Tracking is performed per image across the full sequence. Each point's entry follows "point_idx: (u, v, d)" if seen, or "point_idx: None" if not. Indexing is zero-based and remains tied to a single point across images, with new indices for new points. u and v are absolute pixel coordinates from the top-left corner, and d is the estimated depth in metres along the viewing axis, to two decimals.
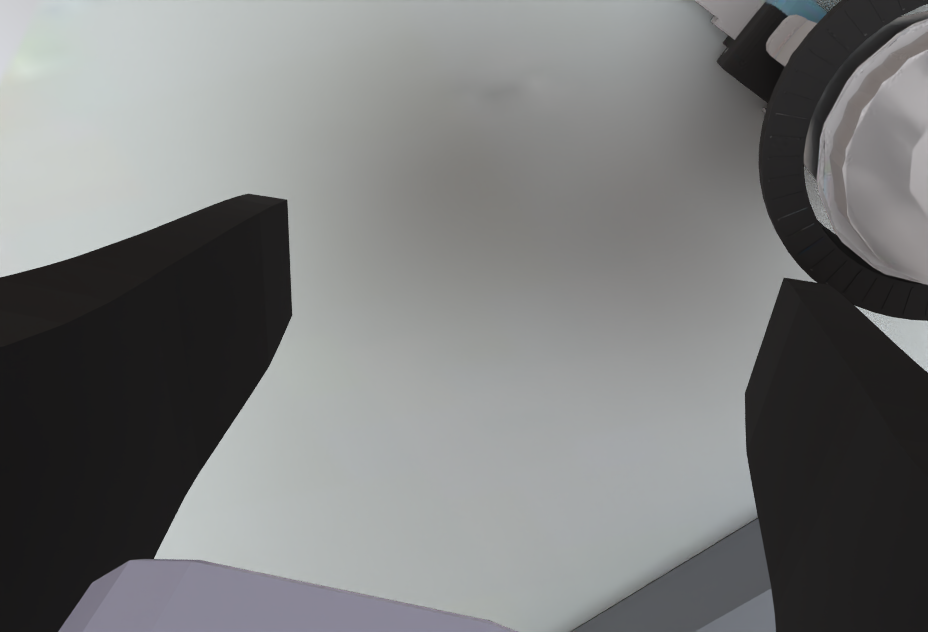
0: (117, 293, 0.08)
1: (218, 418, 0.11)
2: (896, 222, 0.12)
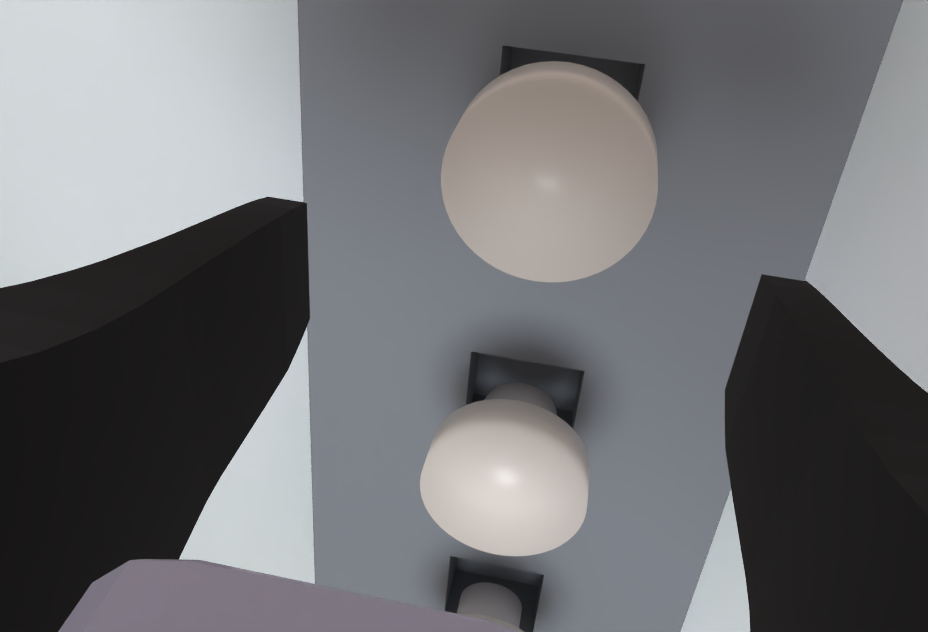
0: (145, 298, 0.08)
1: (239, 423, 0.11)
2: None
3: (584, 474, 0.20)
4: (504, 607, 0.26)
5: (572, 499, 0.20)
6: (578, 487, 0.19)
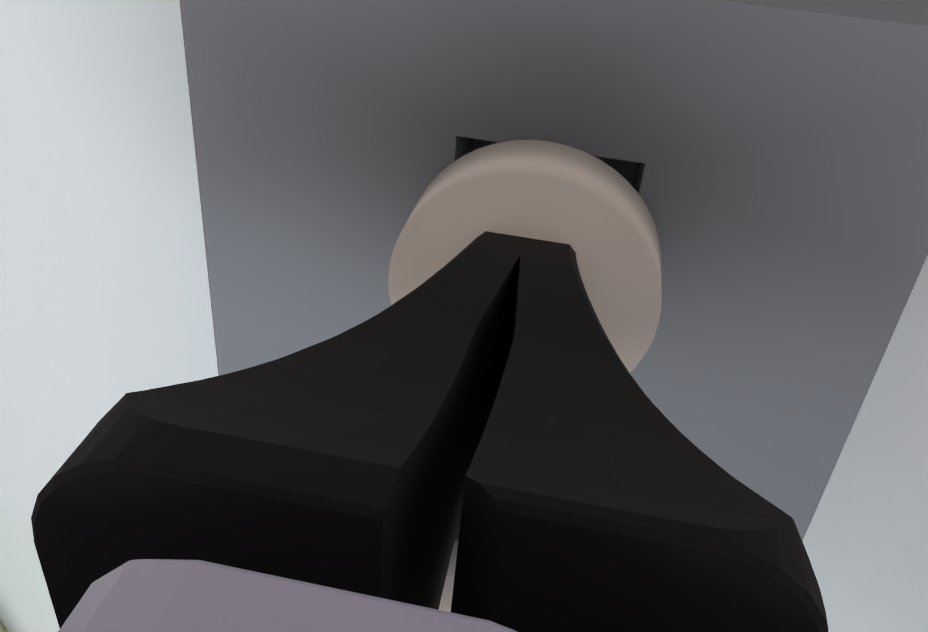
0: (458, 352, 0.08)
1: None
2: None
3: None
4: None
5: None
6: None
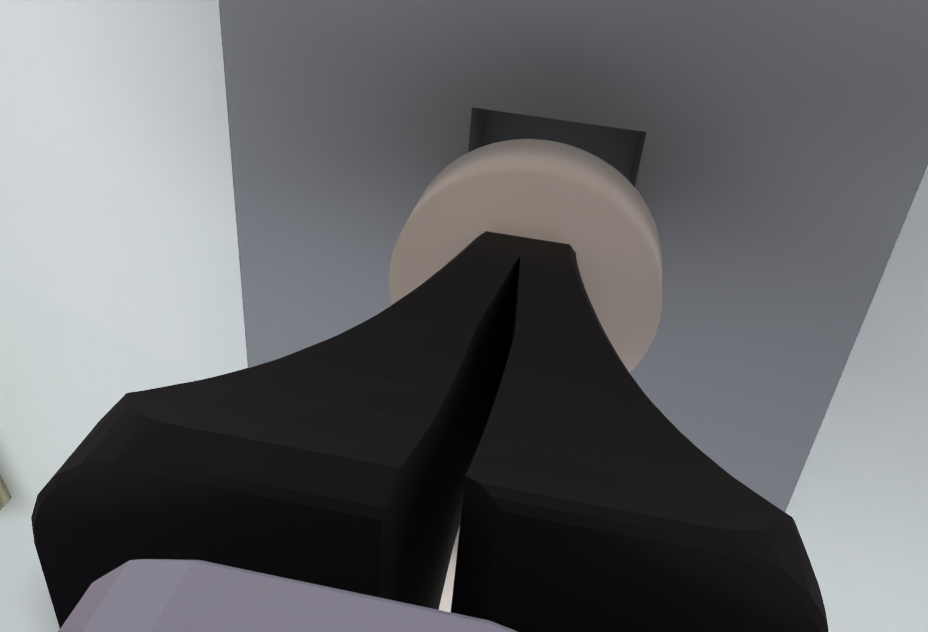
0: (458, 353, 0.08)
1: None
2: None
3: (657, 256, 0.12)
4: None
5: (637, 297, 0.12)
6: (649, 273, 0.12)
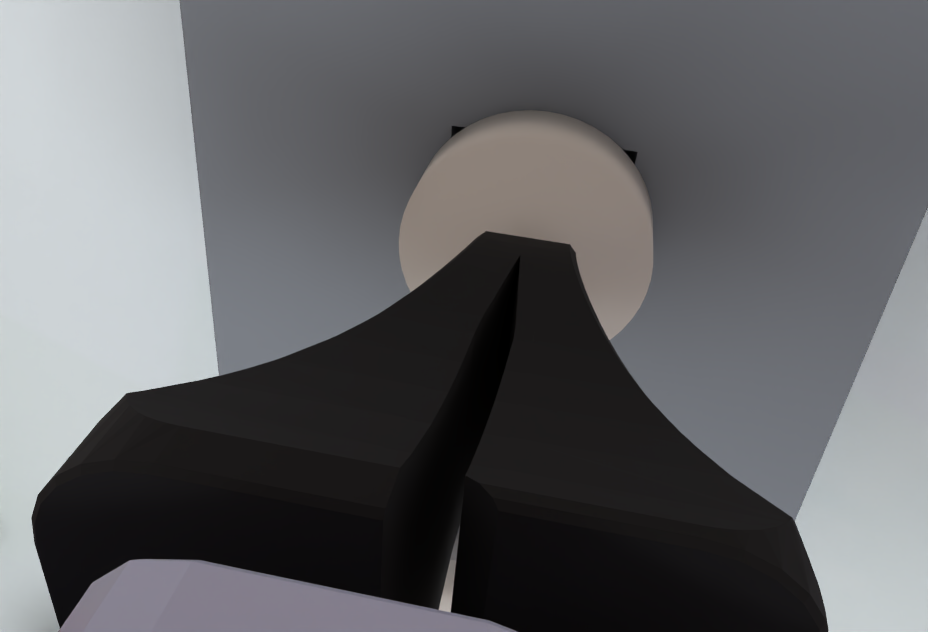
0: (458, 352, 0.08)
1: None
2: None
3: (648, 217, 0.13)
4: None
5: (630, 256, 0.13)
6: (641, 233, 0.13)
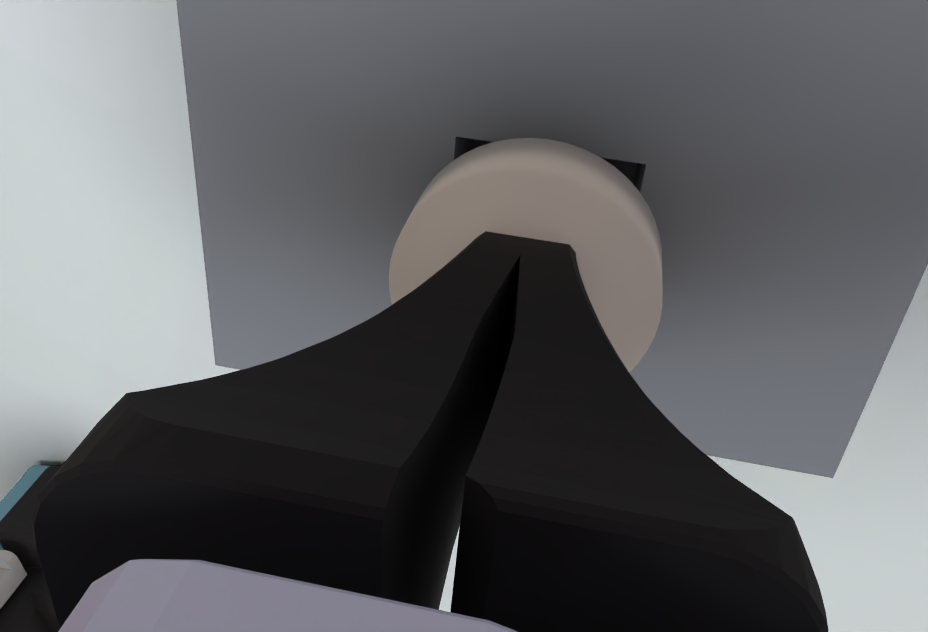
0: (458, 353, 0.08)
1: None
2: None
3: None
4: None
5: None
6: None
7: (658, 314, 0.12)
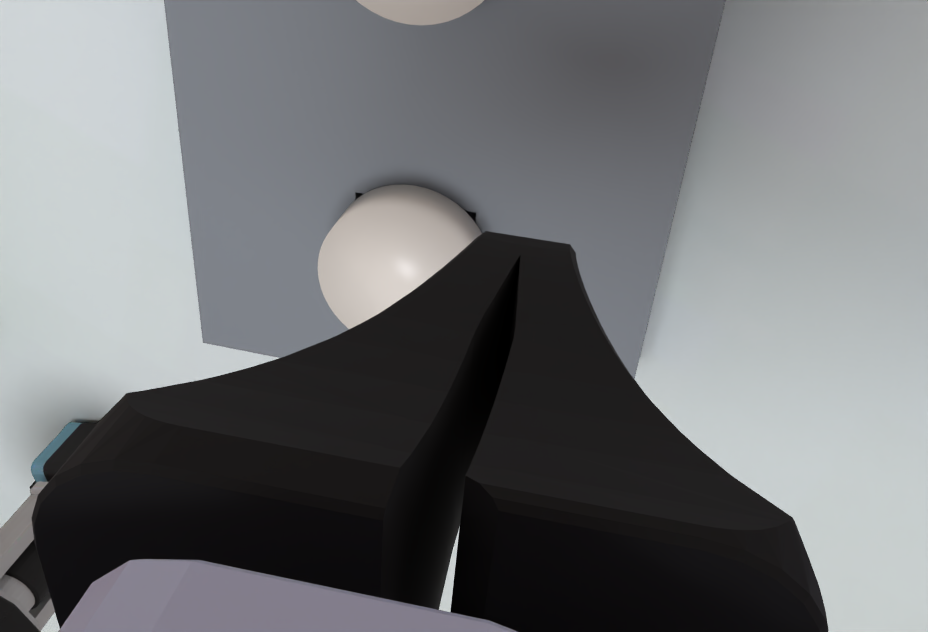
0: (458, 352, 0.08)
1: None
2: None
3: None
4: None
5: None
6: None
7: None
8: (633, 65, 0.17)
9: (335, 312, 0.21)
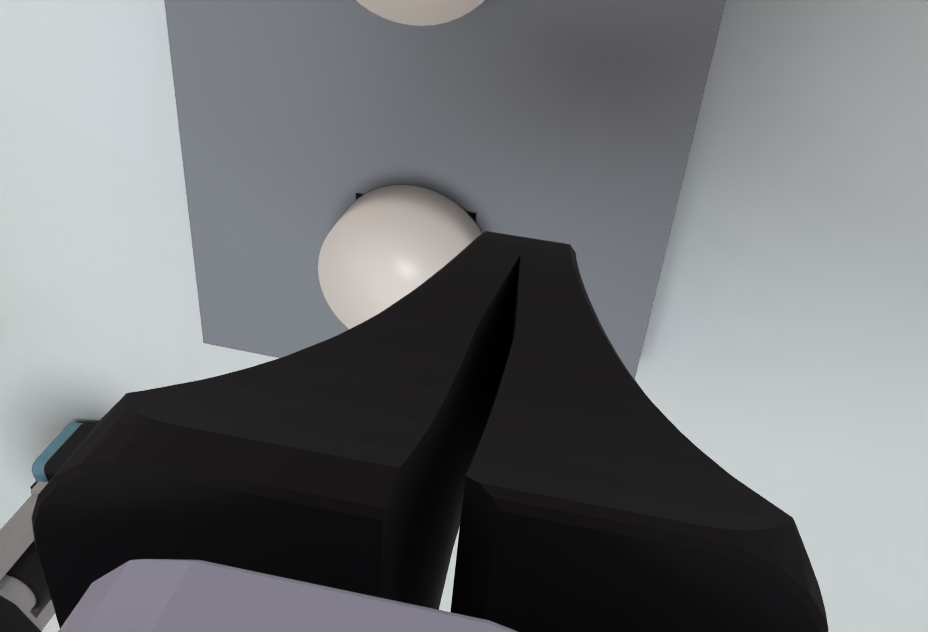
0: (458, 352, 0.08)
1: None
2: None
3: None
4: None
5: None
6: None
7: None
8: (633, 65, 0.17)
9: (335, 312, 0.21)
